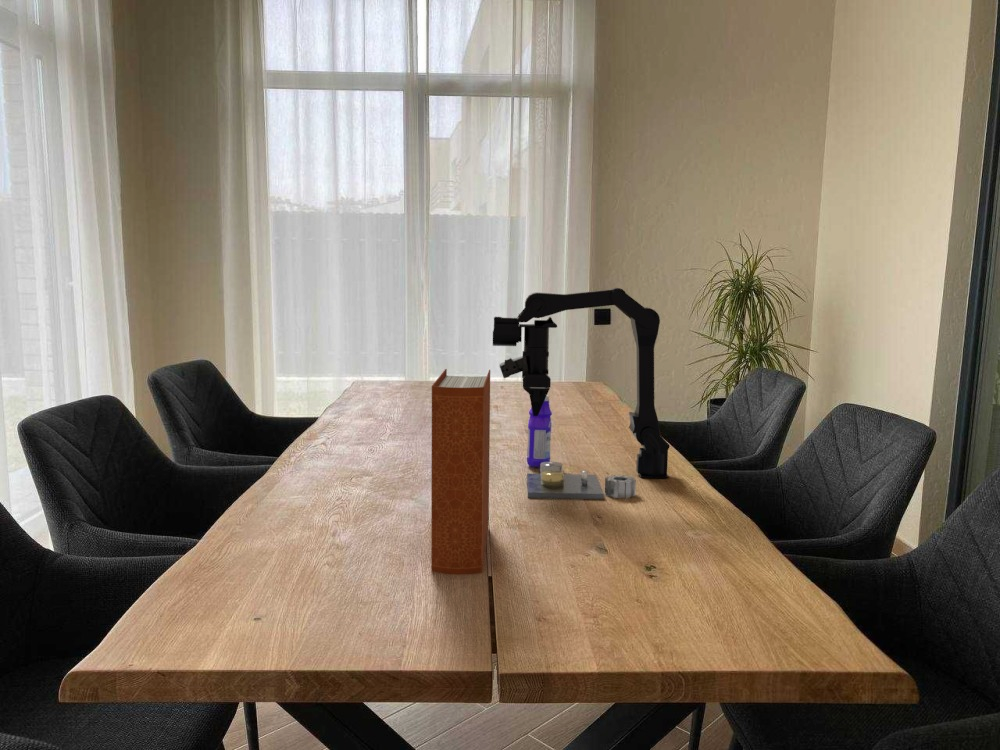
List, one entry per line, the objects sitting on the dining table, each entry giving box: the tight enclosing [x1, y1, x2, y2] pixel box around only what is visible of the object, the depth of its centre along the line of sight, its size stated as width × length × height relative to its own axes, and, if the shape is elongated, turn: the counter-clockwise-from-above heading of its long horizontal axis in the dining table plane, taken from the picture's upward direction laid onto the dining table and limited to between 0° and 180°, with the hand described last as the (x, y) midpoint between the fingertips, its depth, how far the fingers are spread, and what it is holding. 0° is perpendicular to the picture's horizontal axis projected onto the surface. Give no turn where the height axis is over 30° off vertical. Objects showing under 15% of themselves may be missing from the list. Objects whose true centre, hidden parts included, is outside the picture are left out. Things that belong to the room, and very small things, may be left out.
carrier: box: [526, 461, 605, 500], centre depth 177 cm, size 16×16×5 cm
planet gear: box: [604, 474, 637, 500], centre depth 173 cm, size 6×6×4 cm
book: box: [430, 368, 491, 576], centre depth 136 cm, size 23×8×30 cm, turn 178°
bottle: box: [526, 394, 553, 468], centre depth 196 cm, size 7×6×17 cm
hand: (534, 412), depth 188 cm, fingers open, 9 cm apart
